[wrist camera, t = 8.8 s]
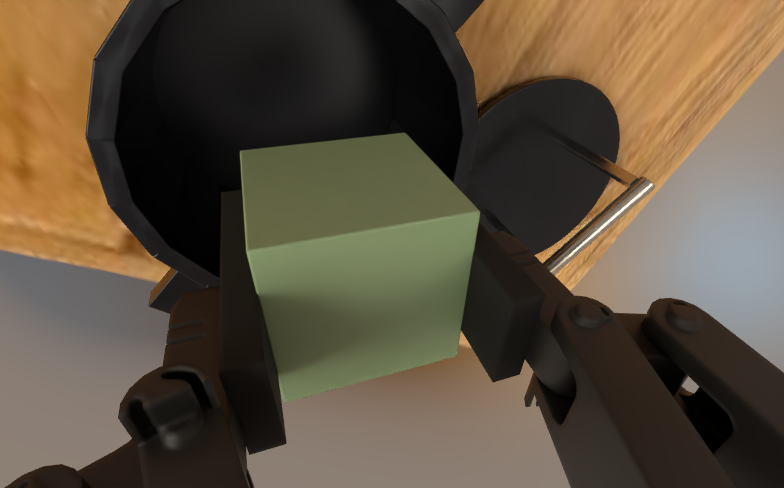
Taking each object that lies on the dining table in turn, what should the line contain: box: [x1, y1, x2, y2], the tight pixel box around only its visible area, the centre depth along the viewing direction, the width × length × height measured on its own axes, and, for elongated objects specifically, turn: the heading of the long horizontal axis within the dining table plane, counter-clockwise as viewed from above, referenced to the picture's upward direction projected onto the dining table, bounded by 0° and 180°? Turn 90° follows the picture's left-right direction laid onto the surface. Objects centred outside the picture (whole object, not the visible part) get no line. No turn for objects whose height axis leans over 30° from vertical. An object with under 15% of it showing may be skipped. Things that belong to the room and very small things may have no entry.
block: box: [240, 133, 480, 402], centre depth 12 cm, size 5×5×5 cm
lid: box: [462, 77, 655, 275], centre depth 29 cm, size 16×16×8 cm
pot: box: [86, 0, 484, 314], centre depth 20 cm, size 15×20×10 cm
